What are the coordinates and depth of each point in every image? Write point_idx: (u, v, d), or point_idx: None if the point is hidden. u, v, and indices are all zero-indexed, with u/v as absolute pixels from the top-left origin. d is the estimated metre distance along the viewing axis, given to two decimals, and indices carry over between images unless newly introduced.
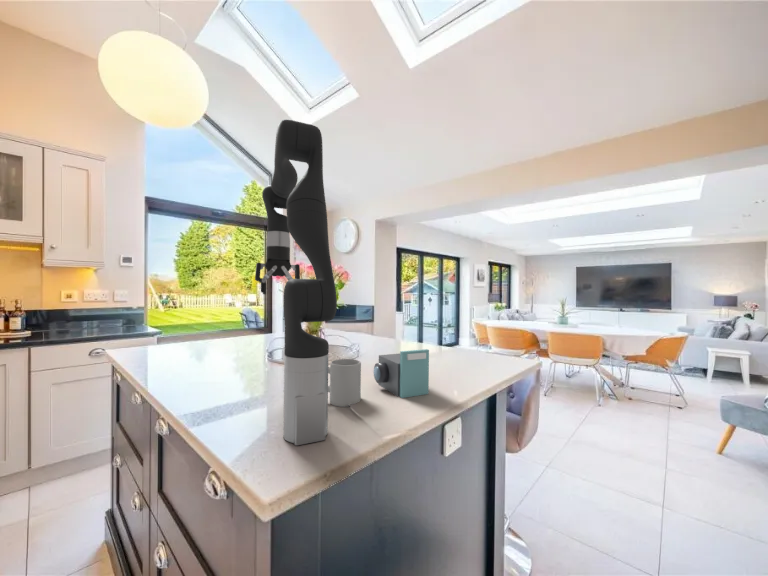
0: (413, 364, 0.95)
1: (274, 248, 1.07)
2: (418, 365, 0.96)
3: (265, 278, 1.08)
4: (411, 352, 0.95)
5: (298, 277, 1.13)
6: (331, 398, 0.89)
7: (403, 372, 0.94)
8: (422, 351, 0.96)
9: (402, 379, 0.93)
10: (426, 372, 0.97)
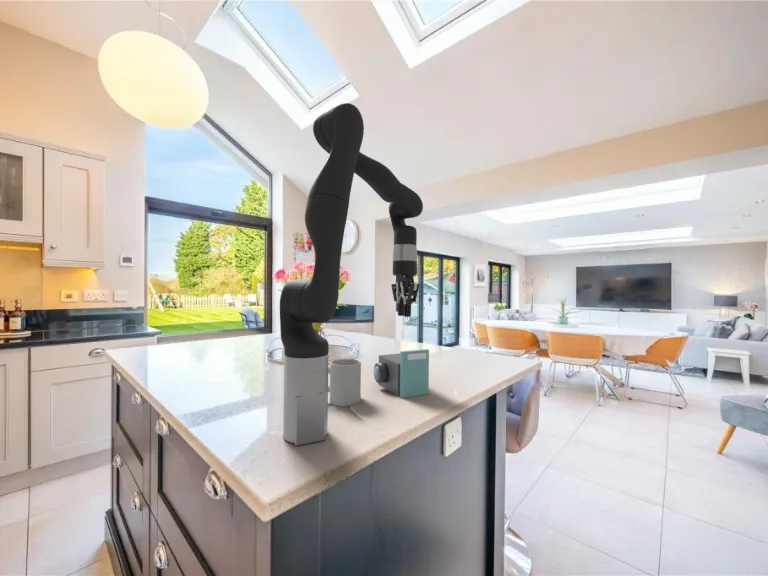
0: (413, 364, 0.95)
1: None
2: (418, 365, 0.96)
3: None
4: (411, 352, 0.95)
5: None
6: (331, 398, 0.89)
7: (403, 372, 0.94)
8: (422, 351, 0.96)
9: (402, 379, 0.93)
10: (426, 372, 0.97)
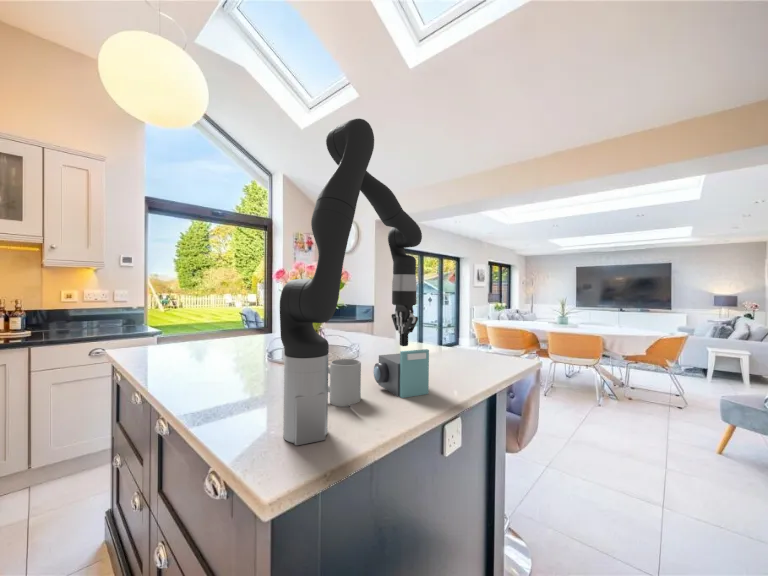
0: (413, 364, 0.95)
1: None
2: (418, 365, 0.96)
3: None
4: (411, 352, 0.95)
5: None
6: (331, 398, 0.89)
7: (403, 372, 0.94)
8: (422, 351, 0.96)
9: (402, 379, 0.93)
10: (426, 372, 0.97)
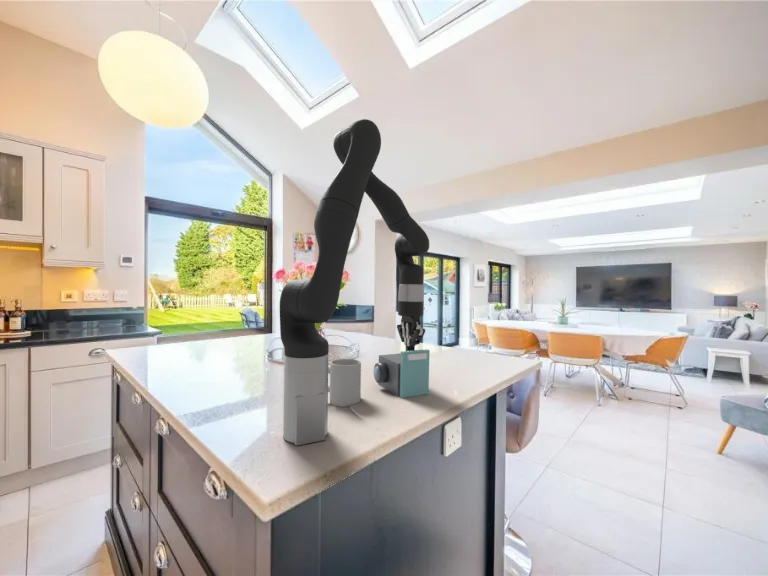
0: (413, 364, 0.95)
1: (423, 304, 0.98)
2: (418, 366, 0.95)
3: None
4: (412, 352, 0.94)
5: None
6: (331, 398, 0.89)
7: (403, 372, 0.93)
8: (423, 351, 0.96)
9: (402, 379, 0.93)
10: (426, 372, 0.97)
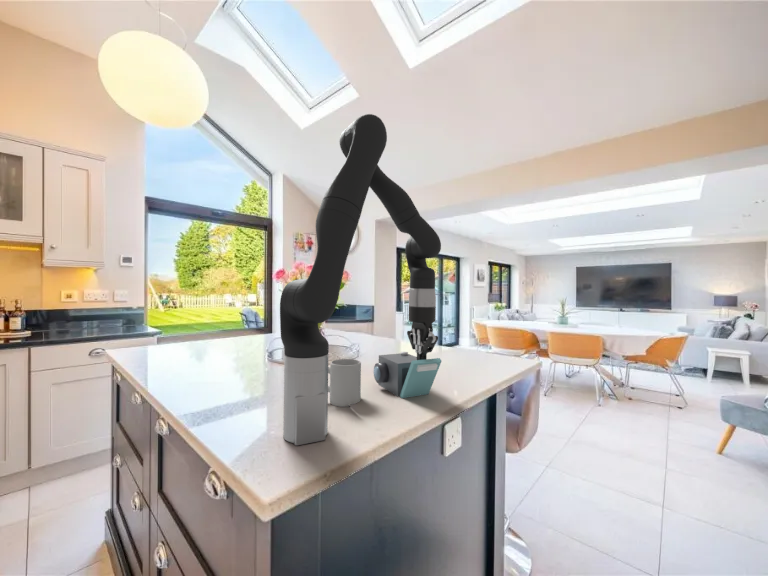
0: (421, 373, 0.91)
1: None
2: (426, 374, 0.92)
3: None
4: (423, 363, 0.89)
5: None
6: (331, 398, 0.89)
7: (409, 379, 0.90)
8: (434, 362, 0.91)
9: (406, 385, 0.91)
10: (432, 378, 0.94)
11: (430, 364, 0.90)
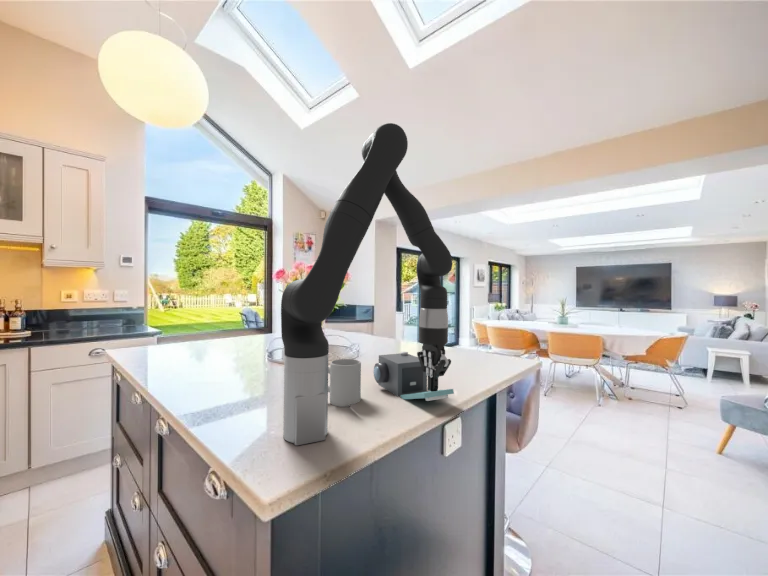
0: None
1: None
2: None
3: None
4: (434, 396, 0.84)
5: None
6: (331, 398, 0.89)
7: (414, 398, 0.88)
8: (446, 394, 0.86)
9: (410, 398, 0.89)
10: None
11: (441, 396, 0.85)
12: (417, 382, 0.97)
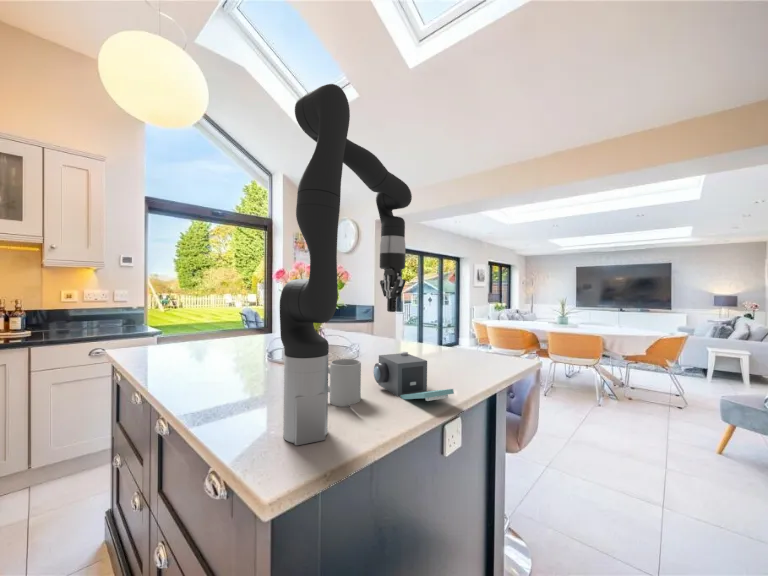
0: None
1: None
2: None
3: None
4: (434, 396, 0.84)
5: None
6: (331, 398, 0.89)
7: (414, 398, 0.88)
8: (446, 394, 0.86)
9: (410, 398, 0.89)
10: None
11: (441, 396, 0.85)
12: (417, 382, 0.97)
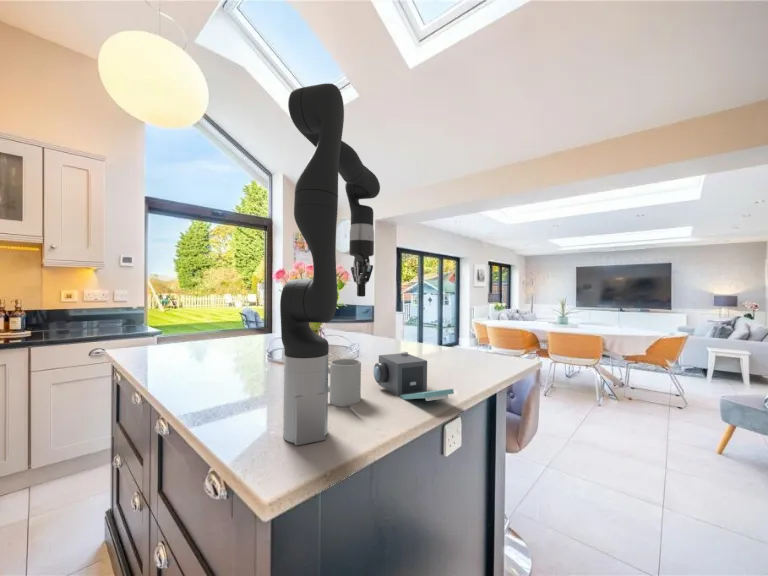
0: None
1: (373, 244, 1.02)
2: None
3: None
4: (434, 396, 0.84)
5: None
6: (331, 398, 0.89)
7: (414, 398, 0.88)
8: (446, 394, 0.86)
9: (410, 398, 0.89)
10: None
11: (441, 396, 0.85)
12: (417, 382, 0.97)
